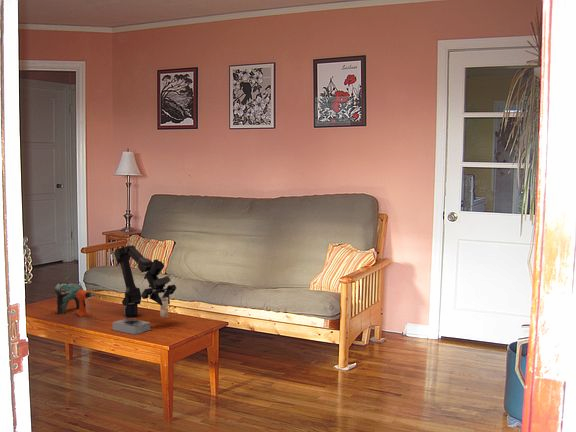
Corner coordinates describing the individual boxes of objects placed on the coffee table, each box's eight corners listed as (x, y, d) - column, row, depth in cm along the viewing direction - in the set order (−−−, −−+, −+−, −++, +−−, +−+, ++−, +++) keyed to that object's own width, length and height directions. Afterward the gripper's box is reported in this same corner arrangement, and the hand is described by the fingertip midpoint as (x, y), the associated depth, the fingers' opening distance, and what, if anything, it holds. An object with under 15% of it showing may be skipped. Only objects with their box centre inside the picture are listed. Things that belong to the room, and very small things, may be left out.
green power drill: (61, 315, 339) (60, 279, 337) (52, 313, 342) (51, 278, 340) (86, 307, 357) (86, 274, 355) (78, 306, 360) (77, 273, 358)
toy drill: (92, 318, 327) (90, 290, 327) (75, 316, 340) (73, 289, 340) (100, 316, 331) (98, 289, 331) (83, 314, 343) (81, 288, 343)
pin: (167, 315, 320) (167, 296, 319) (169, 317, 316) (169, 298, 315) (159, 316, 318) (159, 297, 317) (161, 317, 314) (161, 298, 313)
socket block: (127, 325, 318) (127, 318, 318) (150, 330, 310) (150, 322, 310) (112, 329, 309) (112, 322, 309) (135, 334, 301) (135, 326, 301)
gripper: (144, 273, 311) (156, 298, 304) (174, 269, 324) (186, 293, 318) (136, 286, 317) (147, 310, 311) (166, 282, 331) (178, 305, 324)
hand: (165, 304), depth 315 cm, fingers closed on pin, 4 cm apart
